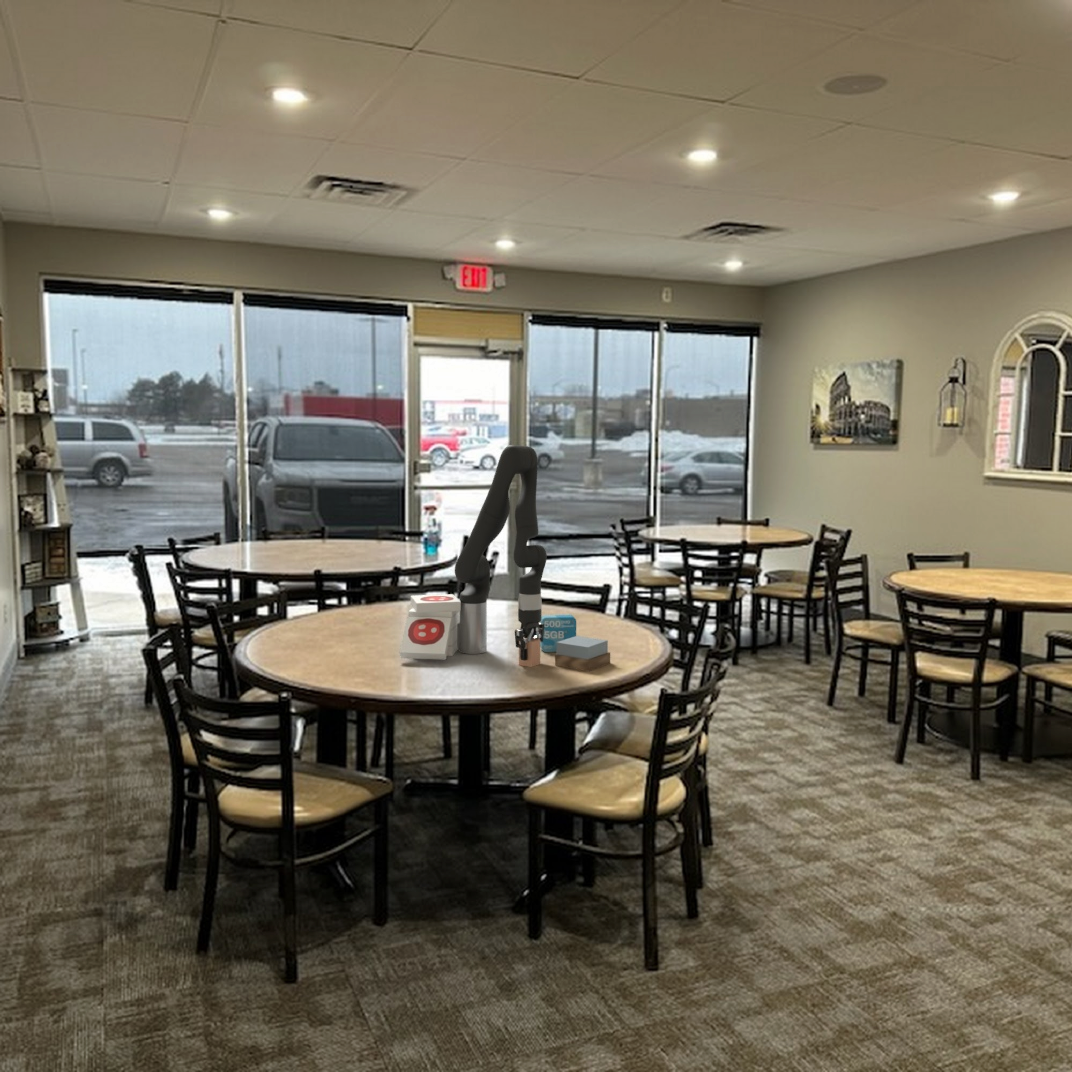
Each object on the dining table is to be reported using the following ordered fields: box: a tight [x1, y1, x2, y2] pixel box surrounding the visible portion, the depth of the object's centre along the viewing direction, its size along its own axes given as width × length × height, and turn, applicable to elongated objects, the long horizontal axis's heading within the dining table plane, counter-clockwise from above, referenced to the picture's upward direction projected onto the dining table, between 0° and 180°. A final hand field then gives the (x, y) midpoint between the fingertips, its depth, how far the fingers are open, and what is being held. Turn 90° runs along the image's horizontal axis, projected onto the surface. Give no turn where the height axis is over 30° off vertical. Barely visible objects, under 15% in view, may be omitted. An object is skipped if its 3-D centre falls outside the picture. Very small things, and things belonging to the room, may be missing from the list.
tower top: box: [555, 635, 609, 660], centre depth 309 cm, size 12×12×4 cm
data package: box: [539, 614, 577, 653], centre depth 328 cm, size 12×4×12 cm, turn 96°
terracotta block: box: [518, 638, 541, 668], centre depth 308 cm, size 5×5×8 cm
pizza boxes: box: [399, 593, 461, 660], centre depth 321 cm, size 19×30×18 cm, turn 175°
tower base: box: [554, 651, 611, 672], centre depth 309 cm, size 13×13×4 cm
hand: (529, 657), depth 308 cm, fingers open, 6 cm apart
